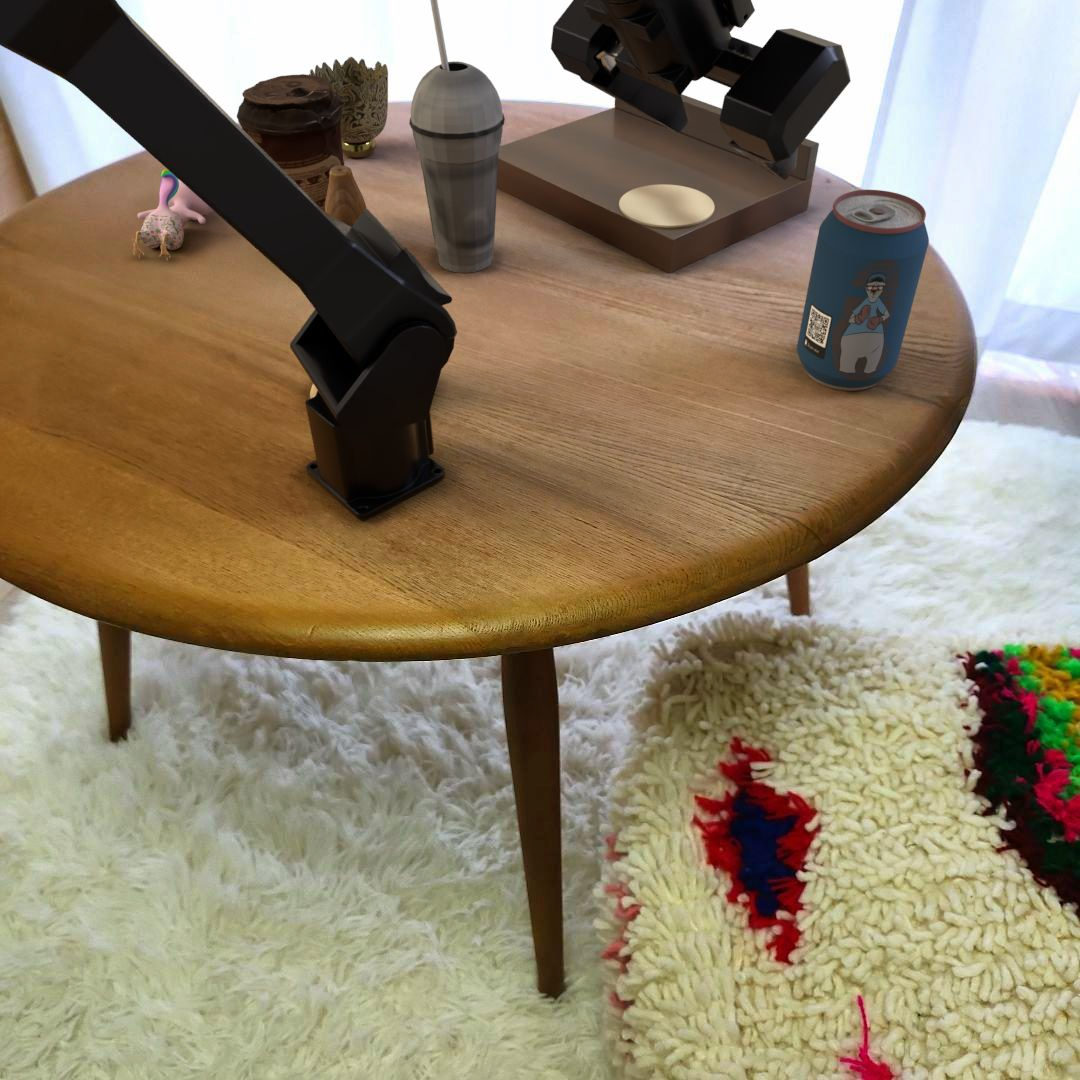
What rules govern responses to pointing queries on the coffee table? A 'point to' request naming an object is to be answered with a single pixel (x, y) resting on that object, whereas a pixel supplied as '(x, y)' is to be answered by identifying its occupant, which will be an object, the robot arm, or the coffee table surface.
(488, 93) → the beverage cup
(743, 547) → the coffee table surface
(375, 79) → the cup
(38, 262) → the coffee table surface
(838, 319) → the soda can
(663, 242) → the shelf
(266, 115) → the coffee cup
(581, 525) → the coffee table surface
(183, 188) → the rabbit figure
